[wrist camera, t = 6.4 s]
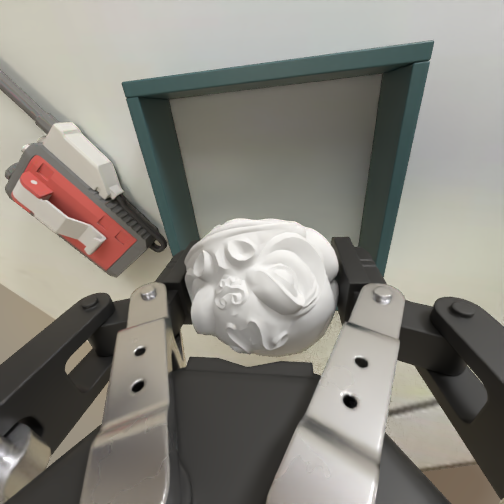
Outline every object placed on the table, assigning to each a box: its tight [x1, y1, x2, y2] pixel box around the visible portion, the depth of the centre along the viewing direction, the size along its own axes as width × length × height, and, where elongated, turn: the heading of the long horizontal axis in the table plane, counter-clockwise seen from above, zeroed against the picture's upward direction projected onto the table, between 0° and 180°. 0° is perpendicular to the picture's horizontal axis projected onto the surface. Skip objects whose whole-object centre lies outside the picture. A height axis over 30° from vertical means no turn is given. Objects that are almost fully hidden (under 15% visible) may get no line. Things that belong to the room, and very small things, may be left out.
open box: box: [122, 40, 434, 311], centre depth 19 cm, size 18×17×4 cm
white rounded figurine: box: [184, 218, 339, 357], centre depth 10 cm, size 6×7×7 cm
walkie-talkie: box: [0, 70, 167, 277], centre depth 20 cm, size 9×4×20 cm
